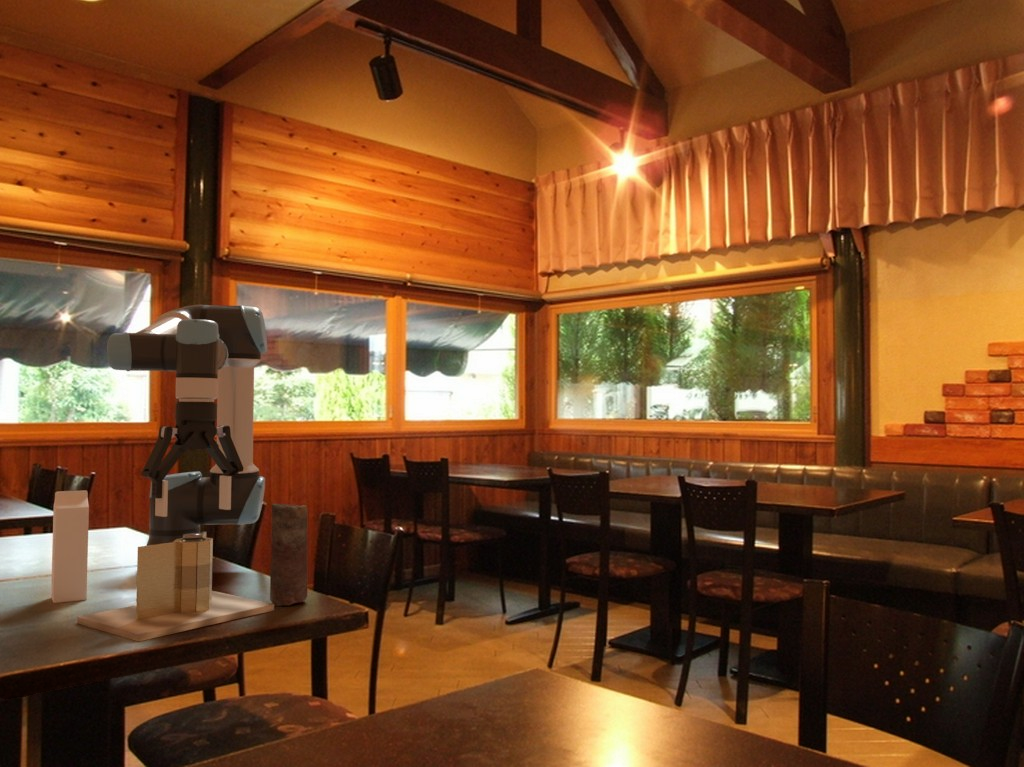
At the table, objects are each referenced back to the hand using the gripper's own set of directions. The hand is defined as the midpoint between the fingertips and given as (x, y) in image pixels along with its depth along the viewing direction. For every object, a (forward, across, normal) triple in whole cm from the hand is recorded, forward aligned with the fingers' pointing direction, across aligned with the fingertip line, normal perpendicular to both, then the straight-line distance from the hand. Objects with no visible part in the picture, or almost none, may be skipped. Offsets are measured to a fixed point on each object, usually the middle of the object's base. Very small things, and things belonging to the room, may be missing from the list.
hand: (194, 512), depth 159 cm
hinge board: (+19, +2, -1) cm, 19 cm away
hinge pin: (+18, 0, 0) cm, 18 cm away
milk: (+20, +7, -32) cm, 38 cm away
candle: (+20, -18, +6) cm, 27 cm away
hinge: (+18, +2, -2) cm, 18 cm away
